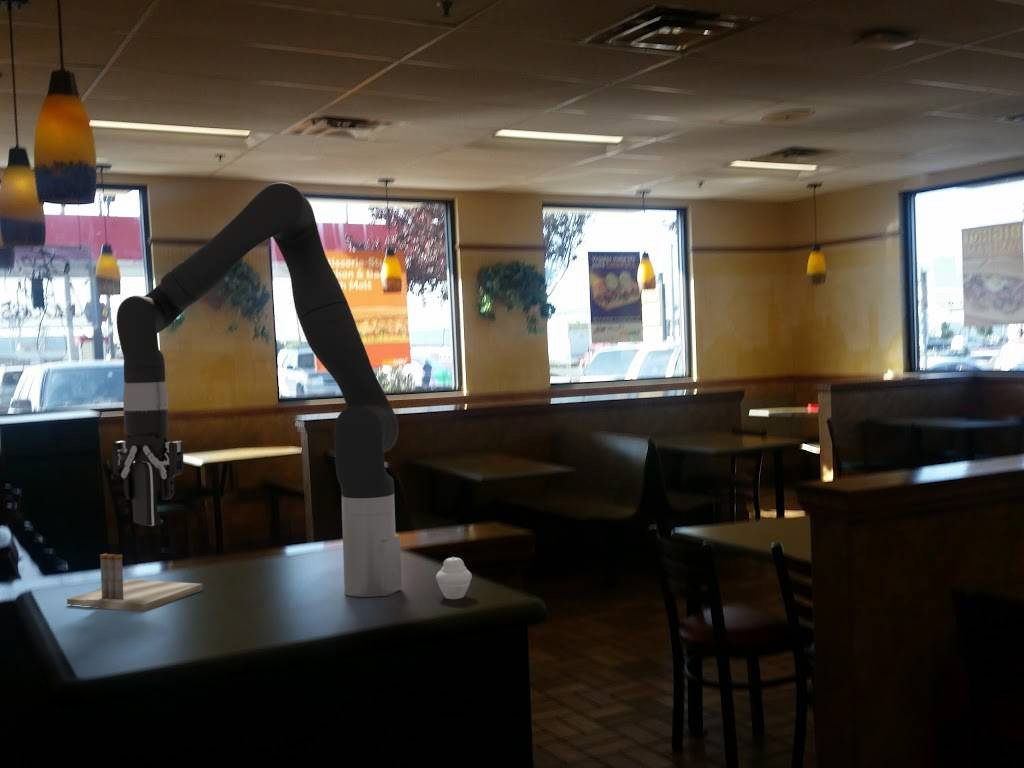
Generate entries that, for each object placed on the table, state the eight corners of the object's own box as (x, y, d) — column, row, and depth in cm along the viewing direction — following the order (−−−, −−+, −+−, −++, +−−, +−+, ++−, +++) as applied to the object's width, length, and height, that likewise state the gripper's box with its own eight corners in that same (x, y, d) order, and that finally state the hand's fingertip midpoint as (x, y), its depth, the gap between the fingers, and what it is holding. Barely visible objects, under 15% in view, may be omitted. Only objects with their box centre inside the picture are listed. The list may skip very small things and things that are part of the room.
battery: (169, 524, 186) (166, 460, 186) (148, 527, 183) (146, 462, 183) (152, 520, 191) (150, 458, 191) (132, 523, 188) (129, 460, 188)
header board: (202, 590, 189) (201, 542, 188) (143, 611, 173) (141, 559, 173) (130, 585, 194) (129, 538, 194) (67, 606, 179) (65, 555, 179)
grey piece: (467, 601, 174) (466, 560, 174) (432, 600, 176) (431, 559, 176) (476, 593, 181) (474, 553, 180) (441, 592, 182) (440, 552, 182)
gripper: (192, 406, 188) (195, 497, 188) (127, 406, 193) (131, 495, 193) (165, 408, 181) (168, 503, 181) (98, 409, 186) (102, 501, 186)
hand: (149, 498), depth 187 cm, fingers closed on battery, 7 cm apart
